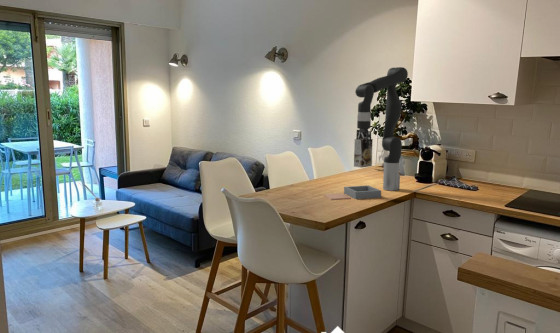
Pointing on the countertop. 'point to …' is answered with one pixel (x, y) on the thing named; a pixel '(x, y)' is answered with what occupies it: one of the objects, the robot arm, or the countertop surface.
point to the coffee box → (362, 154)
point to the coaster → (337, 196)
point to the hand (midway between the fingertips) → (363, 148)
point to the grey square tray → (362, 192)
